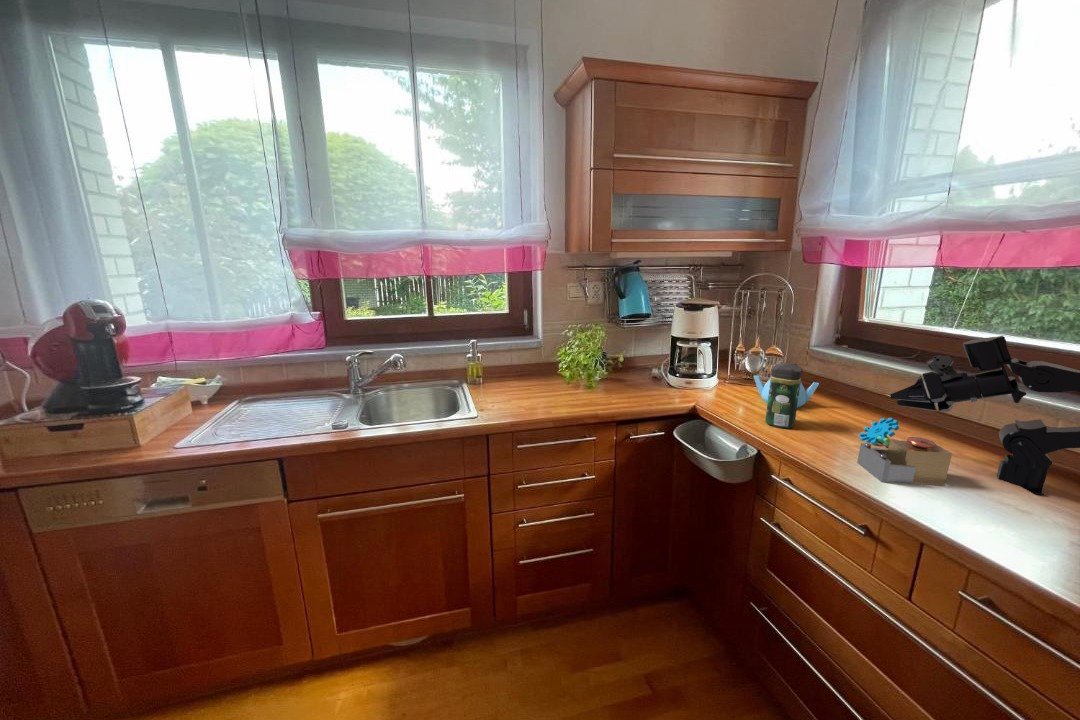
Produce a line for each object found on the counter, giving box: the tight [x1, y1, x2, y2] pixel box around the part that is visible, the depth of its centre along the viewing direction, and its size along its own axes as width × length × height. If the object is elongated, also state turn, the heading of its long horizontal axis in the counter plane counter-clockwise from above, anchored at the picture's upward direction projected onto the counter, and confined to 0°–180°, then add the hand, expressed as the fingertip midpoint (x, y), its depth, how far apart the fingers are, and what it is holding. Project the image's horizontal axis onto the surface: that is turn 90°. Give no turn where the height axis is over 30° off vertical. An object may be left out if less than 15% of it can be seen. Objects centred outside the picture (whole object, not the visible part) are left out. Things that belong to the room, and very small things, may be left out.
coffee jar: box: [764, 361, 803, 429], centre depth 135 cm, size 10×8×19 cm
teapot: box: [753, 375, 820, 409], centre depth 156 cm, size 15×15×11 cm
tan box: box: [887, 436, 953, 483], centre depth 102 cm, size 9×6×8 cm, turn 83°
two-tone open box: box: [856, 442, 952, 488], centre depth 103 cm, size 14×10×7 cm
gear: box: [858, 417, 900, 448], centre depth 121 cm, size 11×6×10 cm
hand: (894, 400), depth 113 cm, fingers open, 9 cm apart
